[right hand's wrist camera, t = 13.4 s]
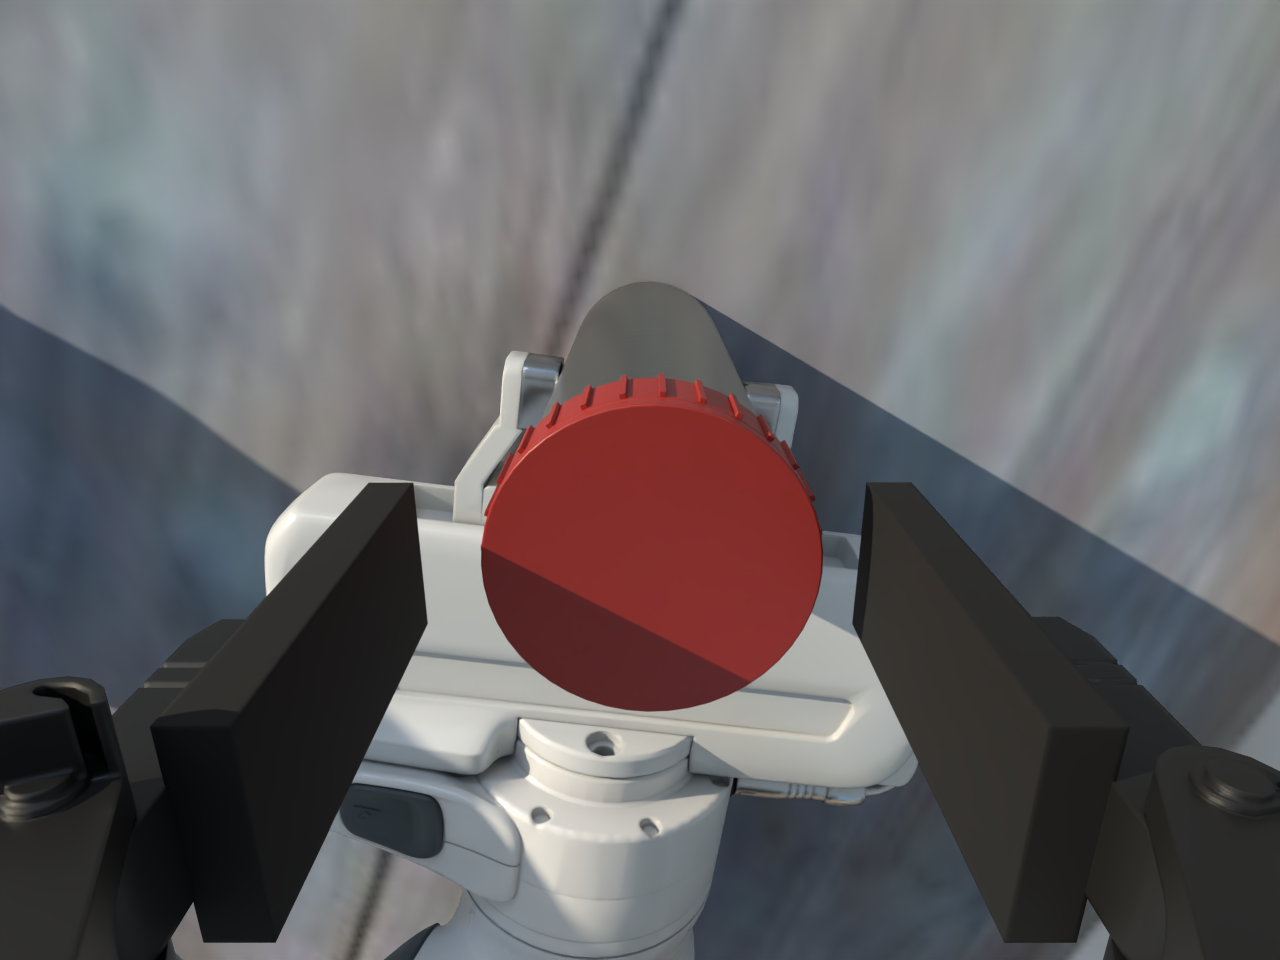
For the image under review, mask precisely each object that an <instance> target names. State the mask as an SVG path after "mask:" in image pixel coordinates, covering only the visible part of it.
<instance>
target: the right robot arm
mask: <svg viewBox="0 0 1280 960" xmlns="http://www.w3.org/2000/svg"><path fill="white" fill-rule="evenodd" d="M427 625H428V620H427V610H426V600H425V591H424V581H423V571H422V561H421V552H420V542H419V532H418V522H417V513H416V503H415V493H414V484H413V483H368V484H367V485H366V486H365V487H364V488H363V489H362V491H361V492H360V493H359V494H358V495H357V496H356V497H355V498H354V499H353V501H352V502H351V503H350V504H349V505H348V506H347V507H346V508H345V510H344V511H343V512H342V513H341V514H340V515H339V516H338V517H337V518H336V520H335V521H334V522H333V523H332V524H331V525H330V526H329V527H328V528H327V530H326V531H325V532H324V533H323V534H322V535H321V536H320V537H319V538H318V540H317V541H316V542H315V543H314V544H313V545H312V546H311V547H310V549H309V550H308V551H307V552H306V553H305V554H304V555H303V556H302V557H301V559H300V560H299V561H298V562H297V563H296V564H295V565H294V566H293V567H292V569H291V570H290V571H289V572H288V573H287V574H286V575H285V576H284V578H283V579H282V580H281V581H280V582H279V583H278V584H277V585H276V586H275V588H274V589H273V590H272V591H271V592H270V593H269V594H268V595H267V596H266V598H265V599H264V600H263V601H262V602H261V603H260V604H259V605H258V606H257V608H256V609H255V610H254V611H253V612H252V613H251V614H250V615H249V617H248V618H247V619H246V620H220V621H218V622H217V623H215V624H213V625H211V626H210V627H208V628H206V629H204V630H203V631H201V632H199V633H197V634H196V635H194V636H192V637H191V638H189V639H187V640H186V641H185V642H184V643H183V644H182V645H181V646H180V647H179V648H178V649H177V650H176V651H175V652H174V653H173V654H172V655H171V656H170V657H169V658H168V659H167V660H166V661H165V662H164V666H163V668H158V669H157V670H156V671H155V672H154V673H153V674H152V675H151V676H150V677H149V678H148V679H147V680H146V681H145V682H144V688H139V689H138V690H137V691H136V692H135V693H134V694H133V695H132V696H131V697H130V698H129V699H128V700H127V701H126V702H125V703H124V704H123V705H122V706H121V707H120V708H119V709H118V710H117V711H116V712H115V713H114V714H113V715H111V711H110V708H109V704H108V700H107V697H106V693H105V689H104V687H102V686H101V685H99V684H98V683H96V682H95V681H93V680H92V679H85V678H77V677H69V676H68V677H58V678H48V679H39V680H35V681H32V682H28V683H24V684H20V685H16V686H13V687H9V688H6V689H3V690H1V691H0V960H176V955H175V951H174V947H173V943H172V940H171V937H172V935H173V933H174V932H175V930H176V929H177V927H178V925H179V924H180V922H181V921H182V919H183V917H184V916H185V914H186V912H187V911H188V909H189V908H190V906H191V904H192V903H193V902H194V906H195V910H196V914H197V918H198V922H199V926H200V930H201V934H202V938H203V942H204V943H276V941H277V938H278V936H279V934H280V932H281V930H282V928H283V926H284V924H285V922H286V920H287V917H288V915H289V913H290V911H291V909H292V907H293V905H294V903H295V901H296V899H297V897H298V894H299V892H300V890H301V888H302V886H303V884H304V882H305V880H306V878H307V876H308V874H309V871H310V869H311V867H312V865H313V863H314V861H315V859H316V857H317V855H318V853H319V851H320V848H321V846H322V844H323V842H324V840H325V838H326V836H327V834H328V832H329V830H330V828H331V825H332V823H333V821H334V819H335V817H336V815H337V813H338V811H339V809H340V807H341V805H342V802H343V800H344V798H345V796H346V794H347V792H348V790H349V788H350V786H351V784H352V782H353V779H354V777H355V775H356V773H357V771H358V769H359V767H360V765H361V763H362V761H363V759H364V756H365V754H366V752H367V750H368V748H369V746H370V744H371V742H372V740H373V738H374V735H375V733H376V731H377V729H378V727H379V725H380V723H381V721H382V719H383V717H384V715H385V712H386V710H387V708H388V706H389V704H390V702H391V700H392V698H393V696H394V694H395V692H396V689H397V687H398V685H399V683H400V681H401V679H402V677H403V675H404V673H405V671H406V669H407V666H408V664H409V662H410V660H411V658H412V656H413V654H414V652H415V650H416V648H417V646H418V643H419V641H420V639H421V637H422V635H423V633H424V631H425V629H426V627H427ZM852 625H853V627H854V629H855V631H856V633H857V635H858V637H859V639H860V641H861V643H862V646H863V648H864V650H865V652H866V654H867V656H868V658H869V660H870V662H871V664H872V666H873V669H874V671H875V673H876V675H877V677H878V679H879V681H880V683H881V685H882V687H883V689H884V692H885V694H886V696H887V698H888V700H889V702H890V704H891V706H892V708H893V710H894V712H895V715H896V717H897V719H898V721H899V723H900V725H901V727H902V729H903V731H904V733H905V736H906V738H907V740H908V742H909V744H910V746H911V748H912V750H913V752H914V754H915V756H916V759H917V761H918V763H919V765H920V767H921V769H922V771H923V773H924V775H925V777H926V779H927V782H928V784H929V786H930V788H931V790H932V792H933V794H934V796H935V798H936V800H937V802H938V805H939V807H940V809H941V811H942V813H943V815H944V817H945V819H946V821H947V823H948V825H949V828H950V830H951V832H952V834H953V836H954V838H955V840H956V842H957V844H958V846H959V848H960V851H961V853H962V855H963V857H964V859H965V861H966V863H967V865H968V867H969V869H970V871H971V874H972V876H973V878H974V880H975V882H976V884H977V886H978V888H979V890H980V892H981V894H982V897H983V899H984V901H985V903H986V905H987V907H988V909H989V911H990V913H991V915H992V917H993V920H994V922H995V924H996V926H997V928H998V930H999V932H1000V934H1001V936H1002V938H1003V941H1004V943H1076V942H1077V938H1078V934H1079V930H1080V926H1081V922H1082V918H1083V914H1084V910H1085V906H1086V902H1087V899H1088V900H1089V902H1090V903H1091V905H1092V907H1093V908H1094V910H1095V911H1096V913H1097V915H1098V916H1099V918H1100V919H1101V921H1102V923H1103V924H1104V926H1105V927H1106V929H1107V931H1108V932H1109V934H1110V936H1109V940H1108V943H1107V947H1106V951H1105V954H1104V958H1103V960H1280V771H1278V770H1276V769H1274V768H1272V767H1270V766H1268V765H1266V764H1263V763H1261V762H1259V761H1257V760H1255V759H1253V758H1251V757H1248V756H1245V755H1241V754H1238V753H1235V752H1231V751H1228V750H1225V749H1222V748H1215V747H1207V746H1202V745H1201V744H1200V743H1199V742H1198V741H1197V740H1196V739H1195V738H1194V737H1193V736H1192V735H1191V734H1190V733H1189V732H1188V731H1187V730H1186V729H1185V728H1184V727H1183V726H1182V725H1181V724H1180V723H1179V722H1178V721H1177V720H1176V719H1175V718H1174V717H1173V716H1172V715H1171V714H1170V713H1169V712H1168V711H1167V710H1166V709H1165V708H1164V707H1163V706H1162V705H1161V704H1160V703H1159V702H1158V701H1157V700H1156V699H1155V698H1154V697H1153V696H1152V695H1151V694H1150V693H1149V692H1148V691H1147V690H1146V689H1145V688H1144V687H1143V686H1142V685H1137V680H1136V679H1135V678H1134V677H1133V676H1132V675H1131V674H1130V673H1129V672H1128V671H1127V670H1126V669H1125V668H1124V667H1123V666H1122V665H1118V664H1117V660H1116V659H1115V658H1114V657H1113V656H1112V655H1111V654H1110V653H1109V652H1108V651H1107V650H1106V649H1105V648H1104V647H1103V646H1102V645H1101V644H1100V643H1099V642H1098V641H1097V640H1096V639H1095V638H1094V637H1093V636H1091V635H1090V634H1088V633H1086V632H1084V631H1083V630H1081V629H1079V628H1077V627H1076V626H1074V625H1072V624H1070V623H1069V622H1067V621H1065V620H1063V619H1062V618H1060V617H1031V615H1030V614H1029V613H1028V612H1027V611H1026V610H1025V609H1024V608H1023V606H1022V605H1021V604H1020V603H1019V602H1018V601H1017V600H1016V599H1015V598H1014V596H1013V595H1012V594H1011V593H1010V592H1009V591H1008V590H1007V589H1006V588H1005V586H1004V585H1003V584H1002V583H1001V582H1000V581H999V580H998V579H997V578H996V576H995V575H994V574H993V573H992V572H991V571H990V570H989V569H988V567H987V566H986V565H985V564H984V563H983V562H982V561H981V560H980V559H979V557H978V556H977V555H976V554H975V553H974V552H973V551H972V550H971V549H970V547H969V546H968V545H967V544H966V543H965V542H964V541H963V540H962V538H961V537H960V536H959V535H958V534H957V533H956V532H955V531H954V530H953V528H952V527H951V526H950V525H949V524H948V523H947V522H946V521H945V520H944V518H943V517H942V516H941V515H940V514H939V513H938V512H937V511H936V510H935V508H934V507H933V506H932V505H931V504H930V503H929V502H928V501H927V499H926V498H925V497H924V496H923V495H922V494H921V493H920V492H919V491H918V489H917V488H916V487H915V486H914V485H913V484H912V483H866V493H865V503H864V513H863V522H862V532H861V542H860V552H859V561H858V571H857V581H856V591H855V600H854V610H853V620H852Z"/></svg>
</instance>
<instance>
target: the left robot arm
mask: <svg viewBox="0 0 1280 960" xmlns="http://www.w3.org/2000/svg"><path fill="white" fill-rule="evenodd" d="M563 367H564V358H562V357H555V356H548V355H541V354H534V353H529V352H520V351H511V353H510V354H509V356H508V357H507V358H506V362H505V367H504V372H503V380H502V394H501V409H500V416H499V417H498V419H497V420H496V422H495V423H494V424H493V426H492V427H491V428H490V430H489V431H488V433H487V434H486V435H485V437H484V438H483V440H482V441H481V442H480V444H479V445H478V447H477V448H476V449H475V451H474V452H473V453H472V455H471V456H470V458H469V459H468V461H467V463H466V464H465V466H464V467H463V469H462V471H461V472H460V474H459V476H458V477H457V479H456V480H455V486H447V485H438V484H430V483H422V482H413V481H405V480H397V479H389V478H380V477H372V476H364V475H356V474H348V473H331V474H328V475H326V476H324V477H322V478H321V479H320V480H318V481H317V482H316V483H315V484H313V485H312V486H311V487H310V488H308V489H307V490H306V491H305V492H303V493H302V494H301V495H300V496H298V497H297V498H296V499H295V500H294V501H293V502H292V503H291V504H290V505H289V506H288V507H287V509H286V510H285V511H284V512H283V513H282V514H281V515H280V516H279V517H278V519H277V520H276V522H275V523H274V524H273V526H272V528H271V530H270V532H269V534H268V537H267V540H266V546H265V584H266V596H267V595H268V594H269V593H270V592H271V591H272V590H273V589H274V588H275V586H276V585H277V584H278V583H279V582H280V581H281V580H282V579H283V578H284V576H285V575H286V574H287V573H288V572H289V571H290V570H291V569H292V567H293V566H294V565H295V564H296V563H297V562H298V561H299V560H300V559H301V557H302V556H303V555H304V554H305V553H306V552H307V551H308V550H309V549H310V547H311V546H312V545H313V544H314V543H315V542H316V541H317V540H318V538H319V537H320V536H321V535H322V534H323V533H324V532H325V531H326V530H327V528H328V527H329V526H330V525H331V524H332V523H333V522H334V521H335V520H336V518H337V517H338V516H339V515H340V514H341V513H342V512H343V511H344V510H345V508H346V507H347V506H348V505H349V504H350V503H351V502H352V501H353V499H354V498H355V497H356V496H357V495H358V494H359V493H360V492H361V491H362V489H363V488H364V487H365V486H366V485H367V484H368V483H413V484H414V493H415V503H416V513H417V522H418V532H419V542H420V552H421V561H422V571H423V581H424V591H425V600H426V610H427V620H428V625H427V627H426V629H425V631H424V633H423V635H422V637H421V639H420V641H419V643H418V646H417V648H416V650H415V652H414V654H413V656H412V658H411V660H410V662H409V664H408V666H407V669H406V671H405V673H404V675H403V677H402V679H401V681H400V683H399V685H398V687H397V689H396V692H395V694H394V696H393V698H392V700H391V702H390V704H389V706H388V708H387V710H386V712H385V715H384V717H383V719H382V721H381V723H380V725H379V727H378V729H377V731H376V733H375V735H374V738H373V740H372V742H371V744H370V746H369V748H368V750H367V752H366V754H365V756H364V759H363V761H362V763H361V765H360V767H359V769H358V771H357V773H356V775H355V777H354V779H353V782H352V784H351V786H350V788H349V790H348V792H347V794H346V796H345V798H344V800H343V802H342V805H341V807H340V809H339V811H338V813H337V815H336V817H335V819H334V821H333V823H332V825H331V828H330V830H331V831H333V832H336V833H339V834H341V835H344V836H347V837H350V838H352V839H355V840H358V841H361V842H364V843H367V844H369V845H372V846H375V847H377V848H380V849H383V850H385V851H388V852H390V853H393V854H395V855H398V856H400V857H403V858H405V859H407V860H410V861H412V862H414V863H417V864H419V865H421V866H423V867H426V868H428V869H430V870H432V871H434V872H436V873H438V874H440V875H442V876H444V877H446V878H447V879H449V880H451V881H453V882H454V883H456V884H458V885H460V886H462V887H463V889H462V895H461V899H460V902H459V905H458V907H457V909H456V912H455V914H454V916H453V918H452V919H451V921H449V922H448V923H447V924H446V925H443V926H440V924H439V923H436V924H434V925H432V926H430V927H428V928H426V929H424V930H423V931H421V932H419V933H418V934H416V935H415V936H413V937H412V938H411V939H409V940H408V941H407V942H405V943H404V944H403V945H401V946H400V947H399V948H398V949H397V950H395V951H394V952H393V953H392V954H390V955H389V956H388V957H387V958H385V959H384V960H694V957H695V950H694V935H693V928H692V927H693V926H694V924H695V923H696V921H697V919H698V917H699V916H700V914H701V912H702V910H703V908H704V905H705V903H706V900H707V897H708V894H709V892H710V888H711V883H712V878H713V874H714V869H715V865H716V860H717V855H718V850H719V845H720V841H721V836H722V831H723V826H724V822H725V817H726V812H727V807H728V802H729V797H731V795H732V794H733V795H741V796H751V797H760V798H770V799H808V800H809V799H811V800H818V801H822V802H823V803H825V804H829V805H836V806H855V805H861V804H862V803H863V802H864V800H865V797H866V796H872V795H878V794H881V793H885V792H887V791H889V790H892V789H893V788H895V787H900V786H903V785H905V784H907V783H908V781H909V780H910V779H911V778H912V776H913V775H914V773H915V771H916V768H917V765H918V761H917V759H916V756H915V754H914V752H913V750H912V748H911V746H910V744H909V742H908V740H907V738H906V736H905V733H904V731H903V729H902V727H901V725H900V723H899V721H898V719H897V717H896V715H895V712H894V710H893V708H892V706H891V704H890V702H889V700H888V698H887V696H886V694H885V692H884V689H883V687H882V685H881V683H880V681H879V679H878V677H877V675H876V673H875V671H874V669H873V666H872V664H871V662H870V660H869V658H868V656H867V654H866V652H865V650H864V648H863V646H862V643H861V641H860V639H859V637H858V635H857V633H856V631H855V629H854V627H853V625H852V620H853V610H854V600H855V591H856V581H857V571H858V561H859V552H860V542H861V535H856V534H848V533H840V532H831V531H823V530H822V533H823V534H822V545H823V572H822V578H821V583H820V589H819V593H818V596H817V599H816V602H815V605H814V608H813V611H812V613H811V615H810V617H809V619H808V621H807V623H806V625H805V627H804V629H803V631H802V632H801V634H800V635H799V637H798V638H797V639H796V641H795V642H794V644H793V645H792V647H791V648H790V649H789V650H788V651H787V652H786V653H785V655H784V656H783V657H782V658H781V659H780V660H779V661H778V662H777V663H776V664H775V665H774V666H773V667H771V668H770V669H769V670H768V671H767V672H766V673H765V674H763V675H762V676H760V677H759V678H758V679H756V680H755V681H753V682H752V683H750V684H749V685H747V686H746V687H744V688H742V689H740V690H738V691H736V692H734V693H732V694H730V695H728V696H726V697H723V698H721V699H718V700H715V701H713V702H710V703H707V704H703V705H699V706H695V707H691V708H686V709H679V710H672V711H656V712H644V711H631V710H623V709H618V708H613V707H607V706H604V705H600V704H597V703H594V702H591V701H587V700H585V699H583V698H580V697H578V696H576V695H573V694H571V693H569V692H567V691H565V690H563V689H562V688H560V687H558V686H557V685H555V684H553V683H551V682H550V681H549V680H547V679H546V678H545V677H543V676H542V675H541V674H539V673H538V672H537V671H535V670H534V669H533V668H532V667H531V666H530V665H529V664H528V663H527V662H526V661H525V660H524V659H523V658H522V657H521V656H520V655H519V654H518V653H517V652H516V650H515V649H514V648H513V647H512V645H511V644H510V643H509V642H508V640H507V639H506V637H505V636H504V634H503V632H502V631H501V629H500V627H499V626H498V624H497V622H496V620H495V618H494V615H493V613H492V611H491V608H490V606H489V603H488V600H487V596H486V593H485V589H484V585H483V578H482V570H481V543H482V537H483V532H484V526H485V522H486V519H487V516H484V513H485V510H486V508H487V506H488V504H489V501H490V499H491V497H492V495H493V493H494V491H495V489H496V487H497V485H500V484H499V483H497V482H496V481H497V479H498V477H499V475H500V473H501V470H502V468H503V466H504V464H505V462H502V461H501V459H502V458H503V457H504V455H505V454H506V453H507V451H508V450H509V448H510V447H511V446H512V444H513V443H514V441H515V440H516V439H517V437H518V436H519V435H520V433H521V432H522V430H523V429H527V428H528V427H529V426H530V425H531V426H533V427H534V428H535V427H536V425H537V424H538V423H539V422H540V421H541V420H542V417H543V415H544V413H545V410H546V408H547V405H548V403H549V401H550V398H551V396H552V393H553V391H554V389H555V386H556V384H557V381H558V379H559V377H560V374H561V372H562V370H563ZM741 382H742V384H743V386H744V388H745V391H746V393H747V395H748V397H749V399H750V401H751V404H752V406H753V408H754V410H755V412H756V415H757V417H758V416H759V415H760V414H762V415H763V416H764V417H765V418H766V420H767V423H768V425H769V427H770V429H771V431H772V432H773V433H774V435H775V436H776V437H777V438H778V439H779V441H780V442H781V441H783V440H785V441H786V443H787V444H788V446H789V448H790V450H791V445H792V440H793V435H794V430H795V425H796V420H797V415H798V403H799V398H798V394H797V393H796V391H795V390H794V389H793V387H792V386H789V385H780V384H773V383H764V382H755V381H746V380H741Z"/></svg>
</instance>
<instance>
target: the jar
mask: <svg viewBox="0 0 1280 960" xmlns="http://www.w3.org/2000/svg"><path fill="white" fill-rule="evenodd" d="M659 374H665V378H666V379H677V380H682V381H686V382H691V383H695V381H696V379H697V380H701V381H702V383H703V386H705V387H707V388H710V389H713V390H716V391H718V392H720V393H722V394H724V395H726V396H728V397H729V395H730V393H732V394H734V395H736V397H737V400H738V402H739V403H740V404H741V405H743V406H744V407H746V408H747V409H749V410H750V411H751V412H753V413H754V414H755V415H756V412H755V410H754V408H753V406H752V404H751V401H750V399H749V397H748V395H747V393H746V391H745V388H744V386H743V384H742V382H741V380H740V378H739V375H738V373H737V371H736V369H735V367H734V365H733V362H732V360H731V358H730V356H729V354H728V351H727V349H726V347H725V345H724V343H723V341H722V338H721V336H720V334H719V332H718V330H717V328H716V325H715V323H714V321H713V319H712V318H711V316H710V315H709V313H708V312H707V310H706V309H705V308H704V307H703V306H702V305H701V304H700V303H699V302H698V301H697V300H696V299H695V298H694V297H692V296H691V295H689V294H688V293H686V292H685V291H683V290H681V289H679V288H676V287H674V286H671V285H667V284H663V283H656V282H639V283H634V284H629V285H626V286H623V287H620V288H618V289H616V290H614V291H612V292H610V293H609V294H607V295H606V296H604V297H603V298H602V299H601V300H599V301H598V302H597V303H596V304H595V305H594V306H593V308H592V309H591V310H590V311H589V313H588V314H587V316H586V317H585V318H584V320H583V323H582V325H581V327H580V329H579V331H578V334H577V336H576V338H575V341H574V343H573V346H572V348H571V350H570V353H569V355H568V358H567V360H566V362H565V365H564V367H563V370H562V372H561V374H560V377H559V379H558V381H557V384H556V386H555V389H554V391H553V393H552V396H551V398H550V401H549V403H548V405H547V408H546V410H545V413H544V415H543V417H542V419H544V418H545V417H546V416H547V415H548V414H550V412H551V409H552V407H553V405H554V404H555V403H556V402H559V404H560V405H562V404H563V403H565V402H566V401H568V400H570V399H571V398H573V397H575V396H577V395H579V394H581V393H583V392H584V389H585V387H586V386H588V385H591V386H592V388H595V387H598V386H602V385H605V384H608V383H611V382H616V381H620V380H621V376H625V375H627V377H628V379H634V378H658V376H659ZM756 416H757V415H756Z"/></svg>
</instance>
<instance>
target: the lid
mask: <svg viewBox="0 0 1280 960" xmlns="http://www.w3.org/2000/svg"><path fill="white" fill-rule="evenodd" d="M798 468H799V465H798V463H797V461H796V460H795V458H794V456H793V454H792V452H791V450H790V448H789V446H788V444H787V443H786V441H785V440H783V441H781V442H780V441H779V439H778V438H777V437H776V436H775V435H774V433H773V432H772V431H771V429H770V427H769V425H768V423H767V420H766V418H765V417H764V416H763V415H762V414H760V415H759V416H758V417H757V416H756V415H755V414H754V413H753V412H751V411H750V410H749V409H747V408H746V407H744V406H743V405H741V404H740V403H739V402H738V400H737V397H736V395H734V394H732V393H730V395H729V397H728V396H726V395H724V394H722V393H720V392H718V391H716V390H713V389H710V388H707V387H705V386H703V383H702V381H701V380H697V379H696V381H695V383H691V382H686V381H682V380H677V379H666V378H665V374H659V376H658V378H634V379H628V377H627V375H625V376H621V380H620V381H616V382H611V383H608V384H605V385H602V386H598V387H595V388H592V386H591V385H588V386H586V387H585V389H584V392H583V393H581V394H579V395H577V396H575V397H573V398H571V399H570V400H568V401H566V402H565V403H563V404H562V405H560V404H559V402H556V403H555V404H554V405H553V407H552V409H551V412H550V414H548V415H547V416H546V417H545V418H544V419H542V420H541V421H540V422H539V423H538V424H537V425H536V427H535V428H534V427H533V426H531V425H530V426H529V427H528V428H527V430H526V432H525V434H524V436H523V439H522V441H521V443H520V445H519V447H518V449H517V451H516V453H515V455H513V454H511V453H510V454H509V456H508V458H507V460H506V462H505V464H504V466H503V468H502V470H501V473H500V475H499V477H498V479H497V481H496V482H497V483H499V484H500V485H497V487H496V489H495V491H494V493H493V495H492V497H491V499H490V501H489V504H488V506H487V508H486V510H485V513H484V516H487V519H486V522H485V526H484V532H483V537H482V543H481V570H482V578H483V585H484V589H485V593H486V596H487V600H488V603H489V606H490V608H491V611H492V613H493V615H494V618H495V620H496V622H497V624H498V626H499V627H500V629H501V631H502V632H503V634H504V636H505V637H506V639H507V640H508V642H509V643H510V644H511V645H512V647H513V648H514V649H515V650H516V652H517V653H518V654H519V655H520V656H521V657H522V658H523V659H524V660H525V661H526V662H527V663H528V664H529V665H530V666H531V667H532V668H533V669H534V670H535V671H537V672H538V673H539V674H541V675H542V676H543V677H545V678H546V679H547V680H549V681H550V682H551V683H553V684H555V685H557V686H558V687H560V688H562V689H563V690H565V691H567V692H569V693H571V694H573V695H576V696H578V697H580V698H583V699H585V700H587V701H591V702H594V703H597V704H600V705H604V706H607V707H613V708H618V709H623V710H631V711H644V712H656V711H672V710H679V709H686V708H691V707H695V706H699V705H703V704H707V703H710V702H713V701H715V700H718V699H721V698H723V697H726V696H728V695H730V694H732V693H734V692H736V691H738V690H740V689H742V688H744V687H746V686H747V685H749V684H750V683H752V682H753V681H755V680H756V679H758V678H759V677H760V676H762V675H763V674H765V673H766V672H767V671H768V670H769V669H770V668H771V667H773V666H774V665H775V664H776V663H777V662H778V661H779V660H780V659H781V658H782V657H783V656H784V655H785V653H786V652H787V651H788V650H789V649H790V648H791V647H792V645H793V644H794V642H795V641H796V639H797V638H798V637H799V635H800V634H801V632H802V631H803V629H804V627H805V625H806V623H807V621H808V619H809V617H810V615H811V613H812V611H813V608H814V605H815V602H816V599H817V596H818V593H819V589H820V583H821V578H822V572H823V545H822V534H823V533H822V528H821V526H820V524H819V522H818V518H817V514H816V511H815V509H814V506H813V504H812V501H815V497H814V495H813V493H812V491H811V489H810V487H809V485H808V483H807V481H806V479H805V477H804V475H803V474H802V472H801V470H798V471H797V470H796V469H798Z"/></svg>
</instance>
